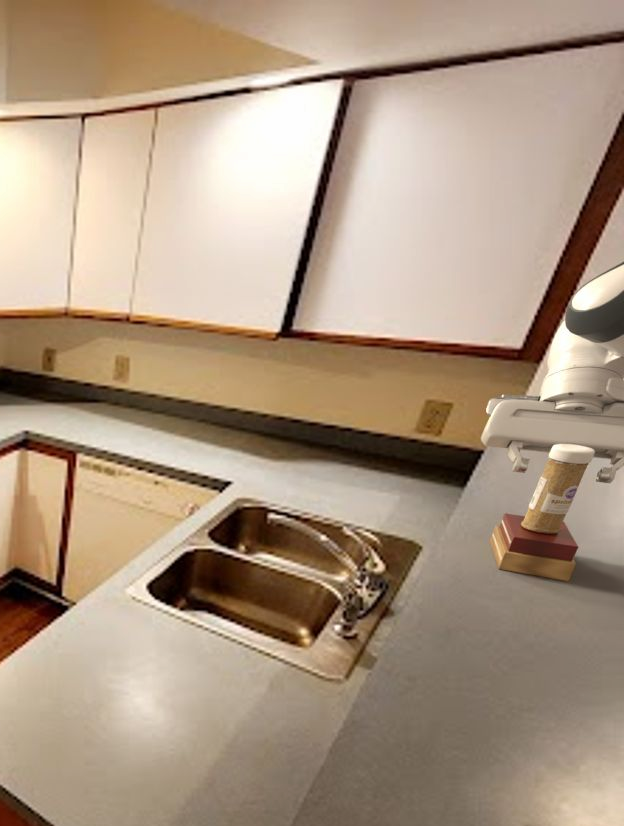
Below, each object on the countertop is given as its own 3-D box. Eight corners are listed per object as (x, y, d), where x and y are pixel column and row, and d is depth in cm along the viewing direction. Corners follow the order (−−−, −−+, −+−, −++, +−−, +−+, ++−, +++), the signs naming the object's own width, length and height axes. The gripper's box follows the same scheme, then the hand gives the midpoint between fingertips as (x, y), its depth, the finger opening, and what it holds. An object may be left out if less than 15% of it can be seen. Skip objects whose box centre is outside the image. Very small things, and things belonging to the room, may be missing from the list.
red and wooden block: (553, 550, 103) (566, 520, 100) (568, 581, 94) (583, 548, 92) (489, 540, 107) (500, 511, 105) (497, 568, 98) (510, 537, 96)
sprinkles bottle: (549, 537, 96) (586, 453, 90) (513, 526, 99) (546, 445, 94) (565, 531, 97) (603, 448, 91) (529, 520, 101) (563, 441, 95)
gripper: (495, 382, 102) (477, 455, 99) (684, 393, 90) (669, 477, 87) (485, 404, 107) (467, 474, 104) (662, 417, 95) (647, 496, 92)
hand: (560, 475), depth 95 cm, fingers open, 8 cm apart
